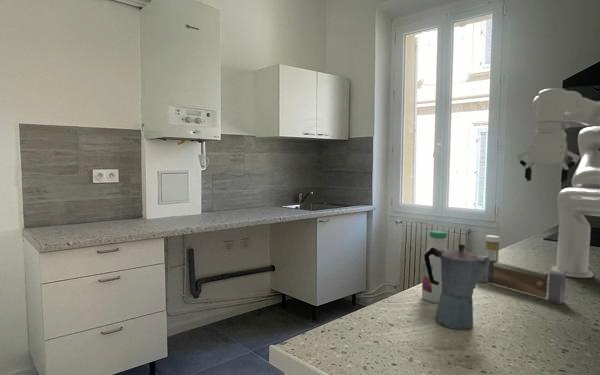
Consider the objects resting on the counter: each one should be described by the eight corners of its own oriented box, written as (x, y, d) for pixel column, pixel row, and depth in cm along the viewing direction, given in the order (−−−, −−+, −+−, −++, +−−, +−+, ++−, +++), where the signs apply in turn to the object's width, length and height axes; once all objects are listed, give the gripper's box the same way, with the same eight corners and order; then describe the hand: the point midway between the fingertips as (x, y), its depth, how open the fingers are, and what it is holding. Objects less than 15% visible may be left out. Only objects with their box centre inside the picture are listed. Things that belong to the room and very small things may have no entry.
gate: (490, 281, 132) (491, 259, 131) (546, 296, 117) (548, 272, 117) (485, 282, 130) (486, 260, 130) (542, 298, 116) (543, 273, 115)
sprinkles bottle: (500, 272, 144) (502, 236, 143) (493, 274, 142) (495, 237, 141) (488, 269, 148) (490, 234, 147) (481, 271, 146) (483, 235, 145)
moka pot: (483, 337, 90) (487, 251, 89) (415, 322, 99) (418, 243, 97) (488, 323, 98) (492, 244, 97) (425, 310, 107) (428, 237, 105)
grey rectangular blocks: (479, 279, 135) (480, 255, 135) (564, 302, 114) (565, 273, 113) (474, 280, 134) (475, 256, 133) (559, 304, 112) (561, 275, 112)
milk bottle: (449, 296, 118) (452, 230, 116) (450, 305, 110) (453, 234, 109) (422, 293, 120) (424, 228, 119) (421, 301, 113) (423, 232, 112)
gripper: (583, 128, 124) (579, 183, 125) (522, 130, 135) (518, 180, 136) (580, 126, 118) (575, 183, 119) (516, 128, 130) (512, 180, 131)
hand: (545, 181), depth 128 cm, fingers open, 9 cm apart
